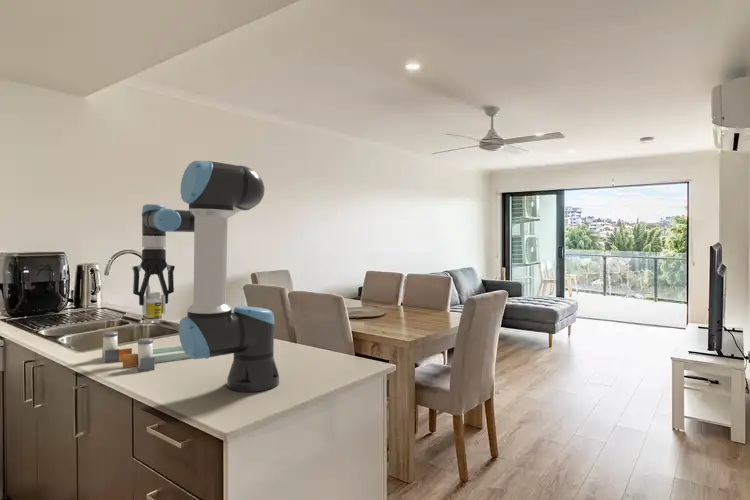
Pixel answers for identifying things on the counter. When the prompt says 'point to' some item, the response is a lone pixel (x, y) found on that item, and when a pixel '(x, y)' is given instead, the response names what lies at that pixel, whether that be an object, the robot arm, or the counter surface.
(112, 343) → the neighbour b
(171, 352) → the tray
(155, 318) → the supplement bottle
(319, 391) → the counter surface
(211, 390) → the counter surface
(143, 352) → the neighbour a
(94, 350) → the counter surface
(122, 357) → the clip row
